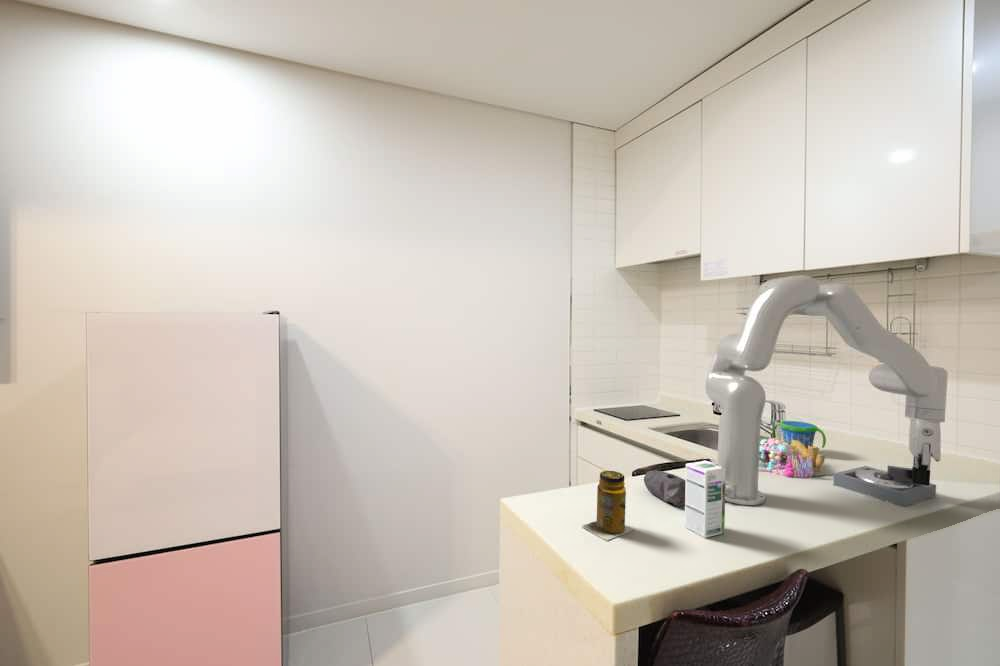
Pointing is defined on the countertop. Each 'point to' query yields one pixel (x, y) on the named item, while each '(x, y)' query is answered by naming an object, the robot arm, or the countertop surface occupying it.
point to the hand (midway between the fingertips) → (920, 483)
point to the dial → (888, 477)
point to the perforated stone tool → (666, 486)
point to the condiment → (610, 507)
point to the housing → (884, 488)
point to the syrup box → (705, 498)
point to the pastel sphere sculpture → (789, 458)
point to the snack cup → (799, 432)
